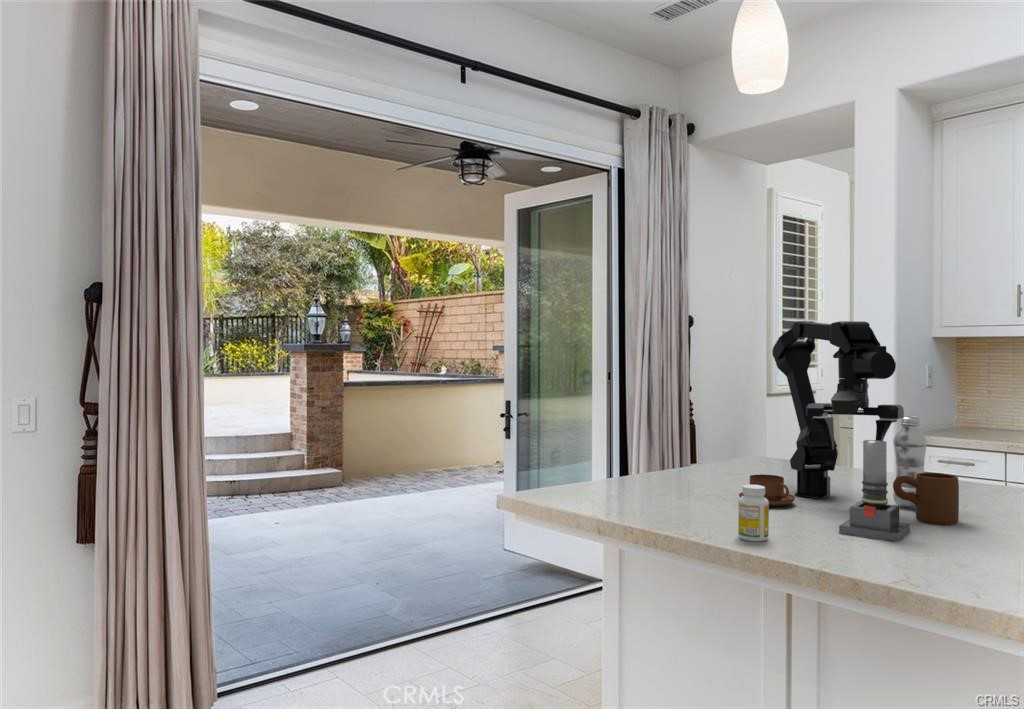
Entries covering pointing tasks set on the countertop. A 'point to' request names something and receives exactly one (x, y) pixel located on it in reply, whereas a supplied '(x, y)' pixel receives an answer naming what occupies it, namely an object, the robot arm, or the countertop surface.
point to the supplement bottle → (753, 514)
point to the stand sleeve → (875, 522)
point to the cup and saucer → (772, 489)
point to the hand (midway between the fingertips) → (854, 450)
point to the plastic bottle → (909, 455)
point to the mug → (932, 497)
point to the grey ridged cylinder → (874, 472)
